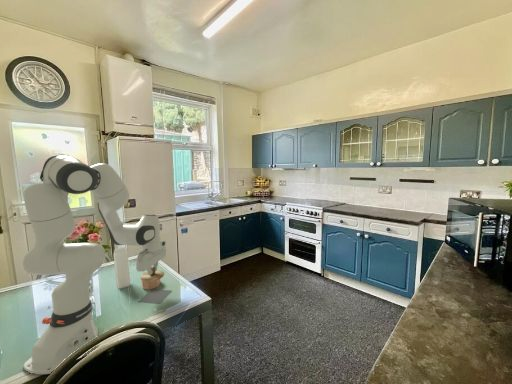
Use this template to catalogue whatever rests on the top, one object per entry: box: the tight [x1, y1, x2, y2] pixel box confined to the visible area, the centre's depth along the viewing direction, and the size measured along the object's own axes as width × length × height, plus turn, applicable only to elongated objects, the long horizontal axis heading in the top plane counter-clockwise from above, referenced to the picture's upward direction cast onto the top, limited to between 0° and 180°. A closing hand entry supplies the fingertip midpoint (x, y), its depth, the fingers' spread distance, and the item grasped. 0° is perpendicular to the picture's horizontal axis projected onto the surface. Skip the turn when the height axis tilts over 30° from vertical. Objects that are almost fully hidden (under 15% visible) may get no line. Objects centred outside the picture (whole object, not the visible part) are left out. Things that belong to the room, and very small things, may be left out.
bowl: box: [140, 278, 162, 290], centre depth 133 cm, size 9×9×5 cm
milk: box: [113, 246, 131, 290], centre depth 132 cm, size 6×6×22 cm
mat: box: [137, 288, 173, 305], centre depth 122 cm, size 12×12×1 cm
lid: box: [140, 266, 165, 281], centre depth 120 cm, size 11×11×4 cm
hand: (152, 272), depth 120 cm, fingers closed on lid, 3 cm apart
